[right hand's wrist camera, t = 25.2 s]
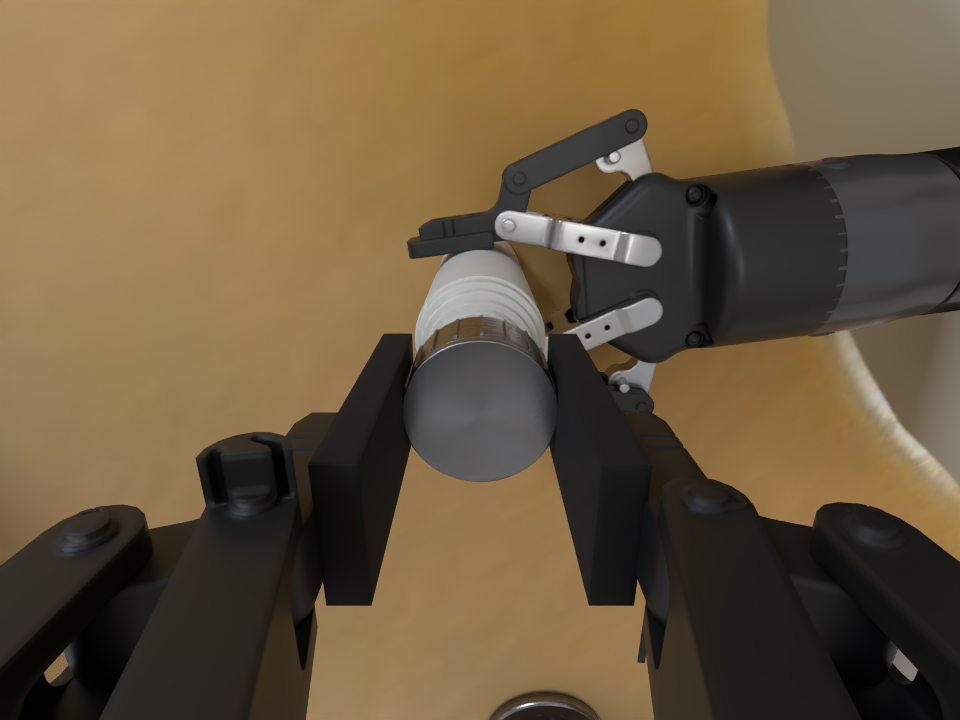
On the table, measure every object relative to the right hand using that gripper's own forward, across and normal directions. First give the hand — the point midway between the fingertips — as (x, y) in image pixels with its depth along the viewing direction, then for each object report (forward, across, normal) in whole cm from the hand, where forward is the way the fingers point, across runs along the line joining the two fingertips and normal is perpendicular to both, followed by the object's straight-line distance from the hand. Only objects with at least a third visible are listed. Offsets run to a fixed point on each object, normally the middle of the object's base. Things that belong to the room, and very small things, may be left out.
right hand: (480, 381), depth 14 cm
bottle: (+16, 0, 0) cm, 16 cm away
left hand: (+10, -3, 0) cm, 11 cm away
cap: (-2, 0, 0) cm, 2 cm away
